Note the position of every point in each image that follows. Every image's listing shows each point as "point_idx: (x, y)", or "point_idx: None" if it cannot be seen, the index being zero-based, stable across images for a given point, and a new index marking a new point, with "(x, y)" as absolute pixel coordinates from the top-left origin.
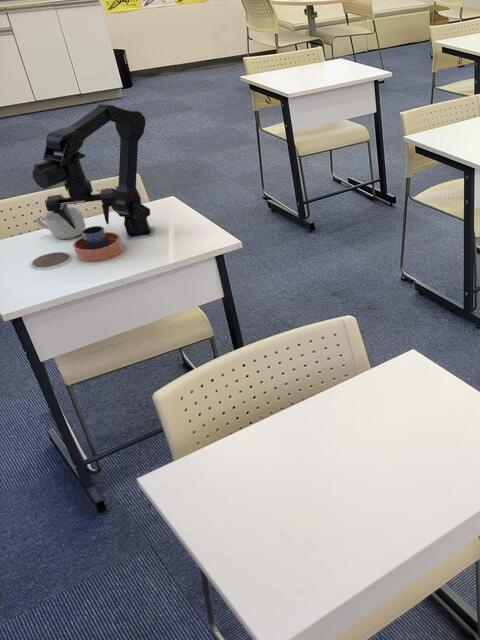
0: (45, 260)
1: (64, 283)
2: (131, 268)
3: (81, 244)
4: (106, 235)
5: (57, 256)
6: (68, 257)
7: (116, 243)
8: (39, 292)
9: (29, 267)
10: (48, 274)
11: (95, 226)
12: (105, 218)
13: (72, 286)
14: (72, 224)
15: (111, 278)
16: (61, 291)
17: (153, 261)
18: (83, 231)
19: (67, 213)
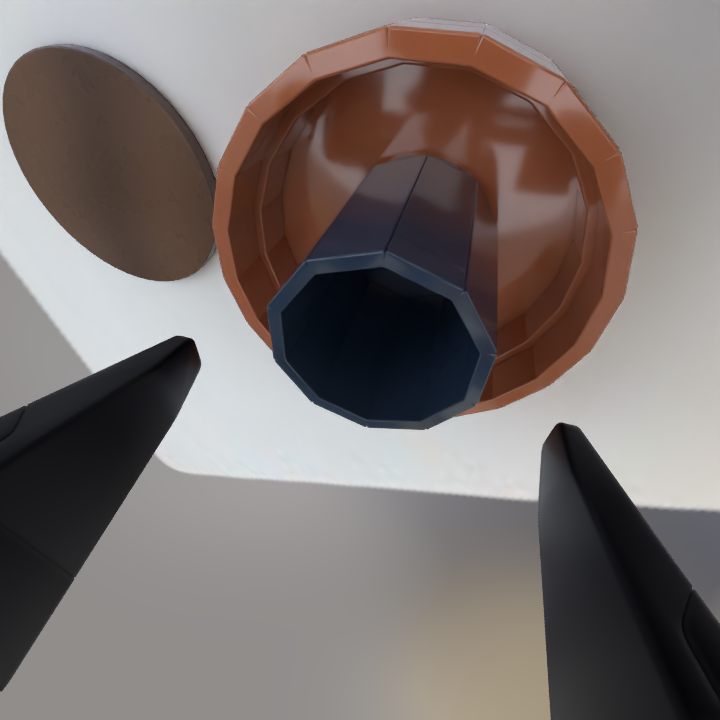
0: (84, 181)
1: (268, 425)
2: (532, 461)
3: (266, 148)
4: (497, 298)
5: (130, 149)
6: (211, 207)
7: (538, 384)
8: (204, 432)
9: (39, 203)
10: (178, 330)
11: (405, 275)
12: (547, 564)
13: (301, 454)
14: (162, 428)
15: (434, 479)
16: (272, 460)
17: (663, 463)
18: (281, 337)
19: (28, 560)
